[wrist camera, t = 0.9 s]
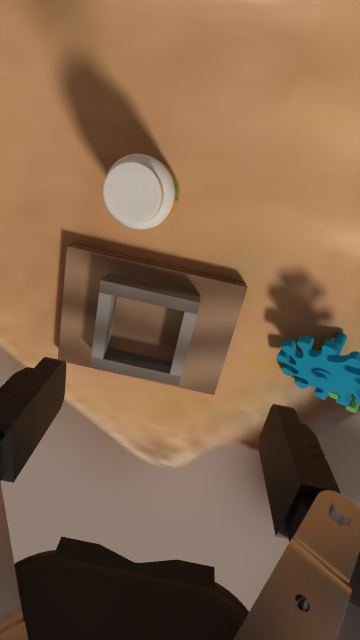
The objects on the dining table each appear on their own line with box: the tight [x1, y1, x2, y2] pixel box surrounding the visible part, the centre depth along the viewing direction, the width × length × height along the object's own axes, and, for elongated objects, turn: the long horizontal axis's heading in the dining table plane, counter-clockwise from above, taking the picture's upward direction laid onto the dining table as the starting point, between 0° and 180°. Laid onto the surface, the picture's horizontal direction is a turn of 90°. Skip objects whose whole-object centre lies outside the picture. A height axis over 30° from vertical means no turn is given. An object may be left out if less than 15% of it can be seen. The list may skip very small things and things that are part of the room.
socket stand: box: [58, 244, 247, 395], centre depth 34 cm, size 13×18×4 cm
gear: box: [276, 333, 360, 413], centre depth 33 cm, size 11×6×10 cm
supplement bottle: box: [103, 154, 179, 229], centre depth 26 cm, size 5×5×10 cm
